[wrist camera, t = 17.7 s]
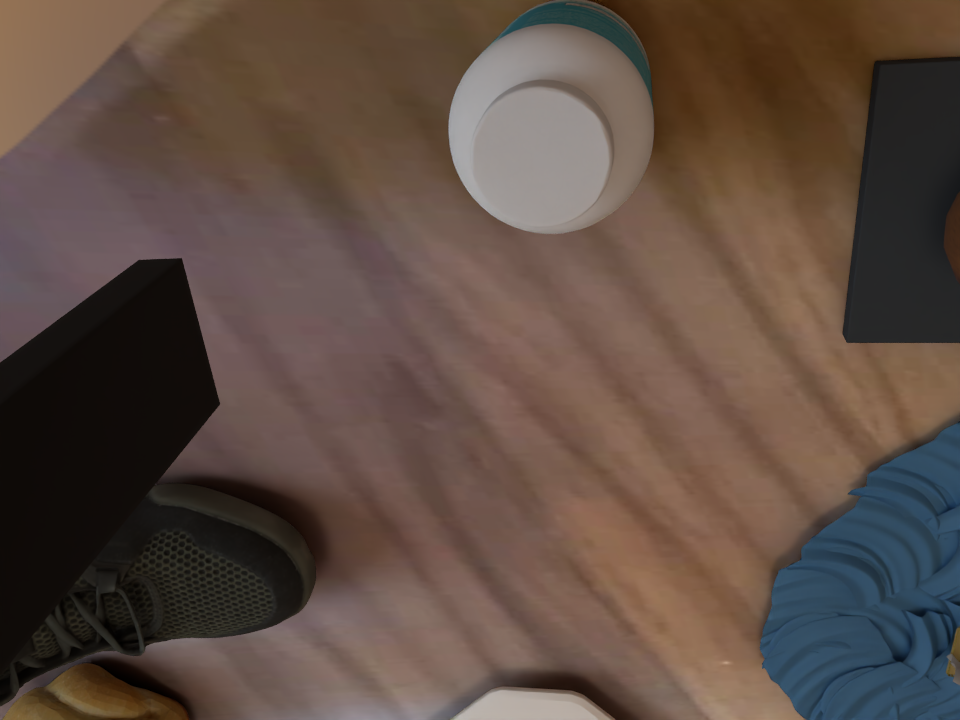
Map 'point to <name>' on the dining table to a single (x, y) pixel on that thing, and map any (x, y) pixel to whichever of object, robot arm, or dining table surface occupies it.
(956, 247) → the wooden figurine
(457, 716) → the plate
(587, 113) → the pill bottle
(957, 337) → the mat
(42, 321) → the dining table surface
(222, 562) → the sneaker
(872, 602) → the blue ocean wave diorama
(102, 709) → the bread
